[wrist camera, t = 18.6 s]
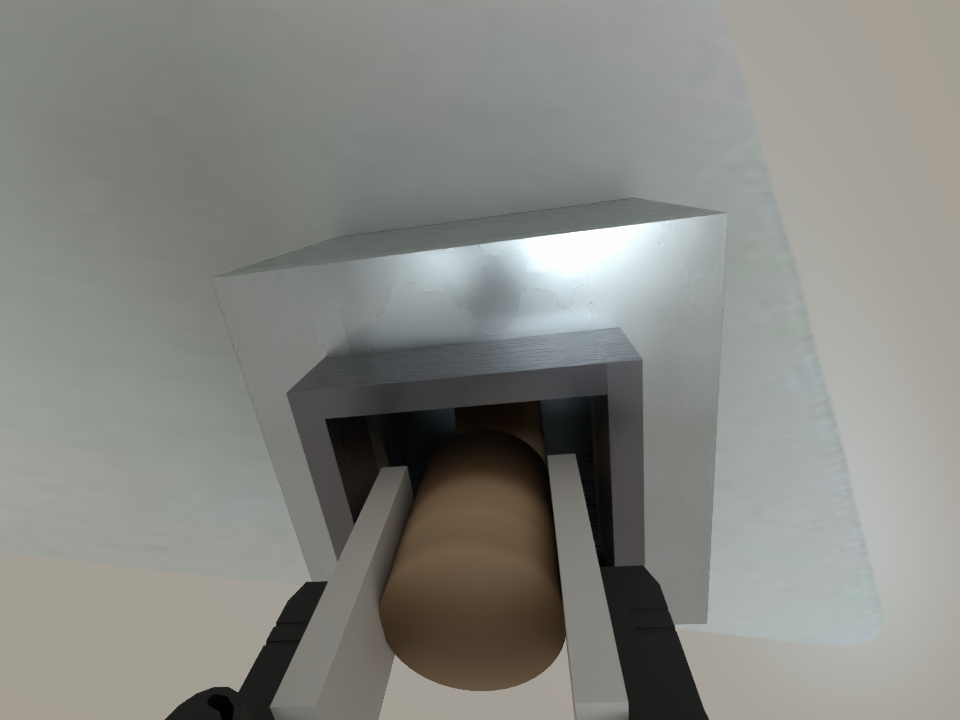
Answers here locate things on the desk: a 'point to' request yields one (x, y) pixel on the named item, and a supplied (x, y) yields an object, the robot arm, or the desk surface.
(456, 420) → the pellet
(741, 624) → the desk surface
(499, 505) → the pellet
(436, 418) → the grey block with socket
